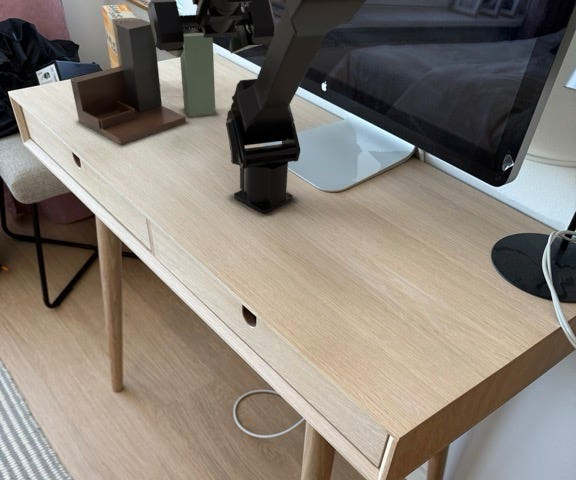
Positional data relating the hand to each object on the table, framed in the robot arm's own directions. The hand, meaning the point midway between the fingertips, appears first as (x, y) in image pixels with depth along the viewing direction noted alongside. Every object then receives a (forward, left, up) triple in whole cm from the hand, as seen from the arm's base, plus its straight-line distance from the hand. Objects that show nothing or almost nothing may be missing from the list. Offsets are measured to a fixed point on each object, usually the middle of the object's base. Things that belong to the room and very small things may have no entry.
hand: (204, 52), depth 93 cm
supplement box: (+21, +1, -12) cm, 24 cm away
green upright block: (+4, -2, -11) cm, 12 cm away
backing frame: (+8, +10, -11) cm, 17 cm away
